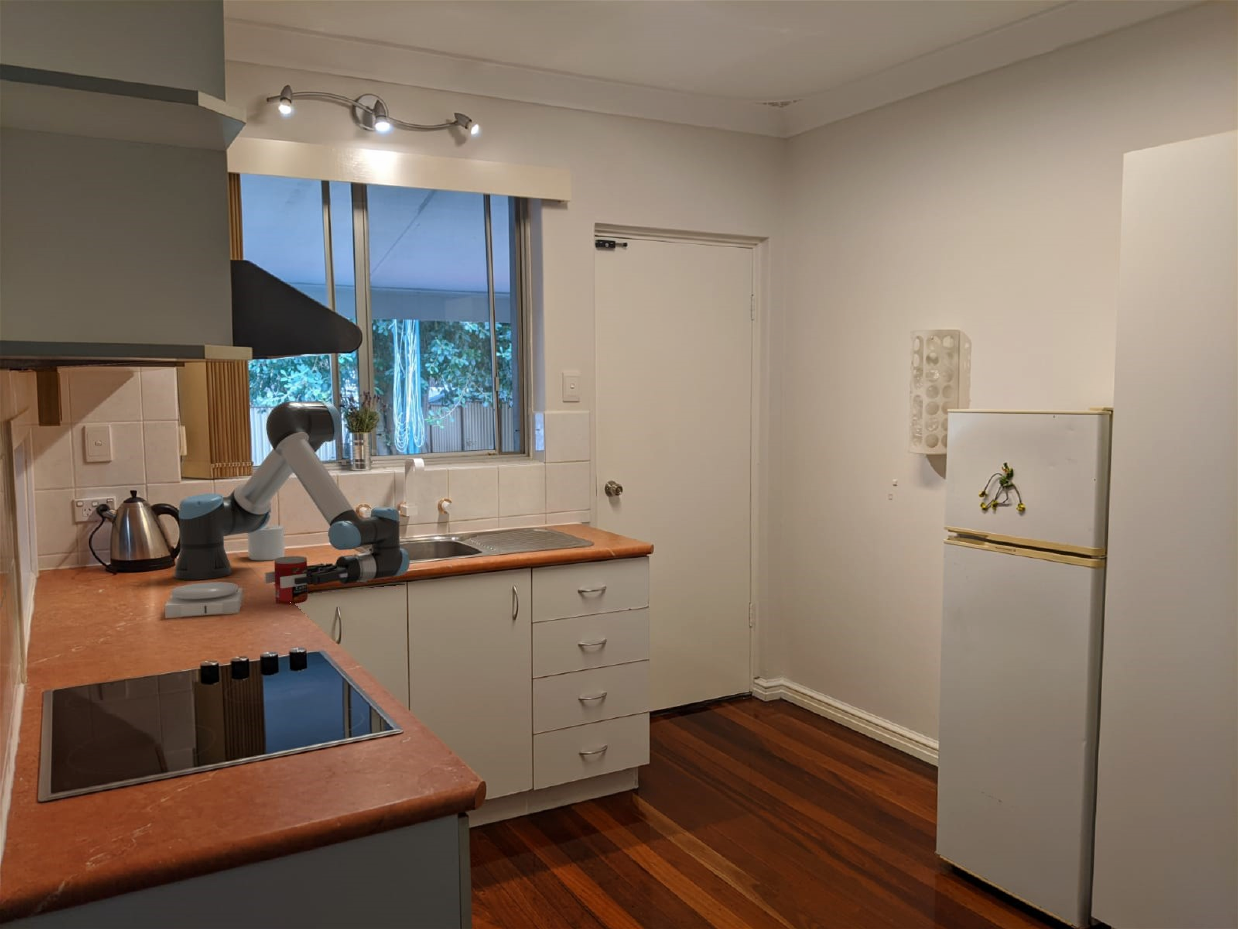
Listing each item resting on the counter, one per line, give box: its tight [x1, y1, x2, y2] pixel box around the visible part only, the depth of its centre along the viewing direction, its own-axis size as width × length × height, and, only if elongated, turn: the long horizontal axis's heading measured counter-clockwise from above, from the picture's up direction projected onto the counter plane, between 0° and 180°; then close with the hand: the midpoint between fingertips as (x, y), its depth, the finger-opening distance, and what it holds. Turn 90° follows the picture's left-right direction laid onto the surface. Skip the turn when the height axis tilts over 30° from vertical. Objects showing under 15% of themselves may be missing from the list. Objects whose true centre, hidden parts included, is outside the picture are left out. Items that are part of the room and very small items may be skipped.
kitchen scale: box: [164, 581, 244, 619], centre depth 228 cm, size 17×16×5 cm
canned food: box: [273, 555, 309, 605], centre depth 236 cm, size 8×8×11 cm
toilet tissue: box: [247, 524, 286, 561], centre depth 301 cm, size 11×12×10 cm
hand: (273, 580), depth 233 cm, fingers closed on canned food, 8 cm apart
